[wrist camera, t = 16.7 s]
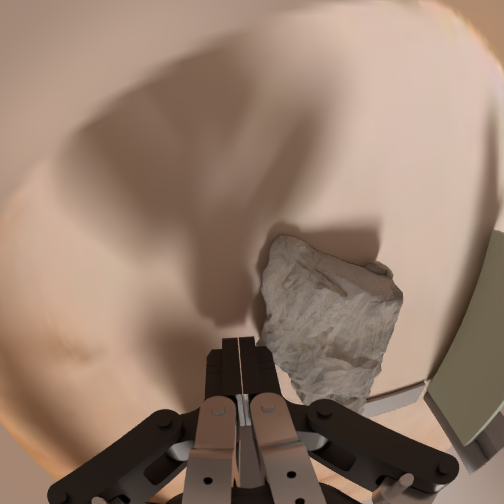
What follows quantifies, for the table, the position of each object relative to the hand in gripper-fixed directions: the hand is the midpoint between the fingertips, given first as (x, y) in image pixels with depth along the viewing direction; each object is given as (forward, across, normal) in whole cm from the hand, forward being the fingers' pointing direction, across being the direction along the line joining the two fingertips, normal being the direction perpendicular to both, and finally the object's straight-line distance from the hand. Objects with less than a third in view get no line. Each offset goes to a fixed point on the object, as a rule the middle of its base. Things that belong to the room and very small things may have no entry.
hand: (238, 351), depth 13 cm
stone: (+2, -5, 0) cm, 5 cm away
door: (+1, -17, +2) cm, 17 cm away
